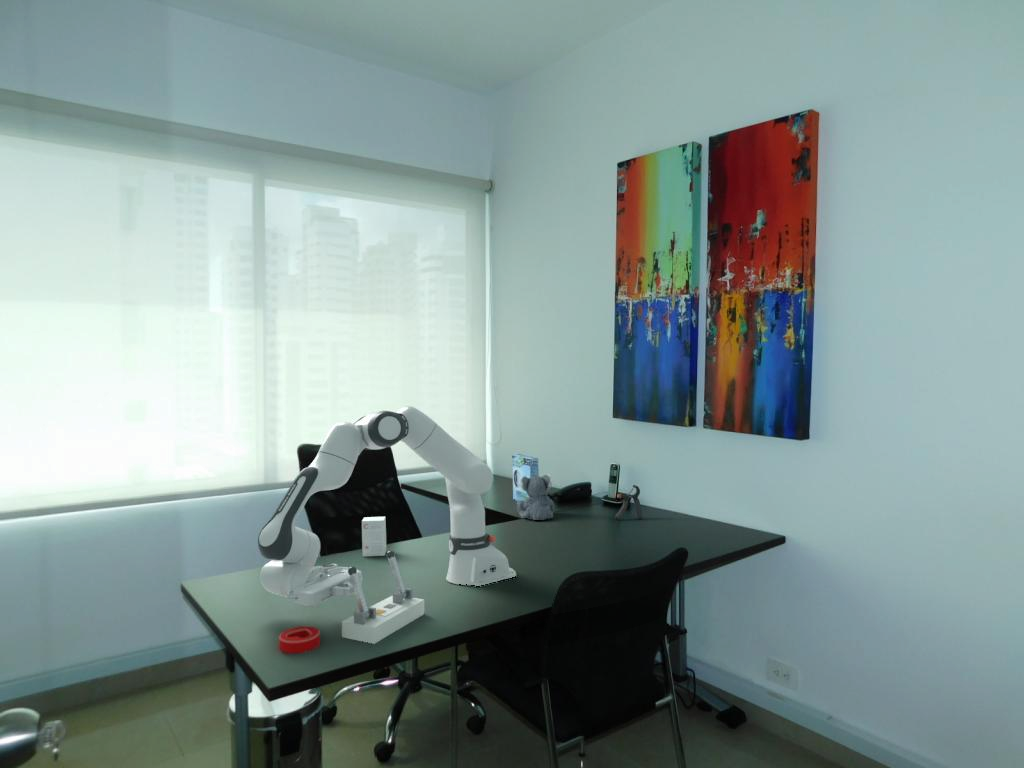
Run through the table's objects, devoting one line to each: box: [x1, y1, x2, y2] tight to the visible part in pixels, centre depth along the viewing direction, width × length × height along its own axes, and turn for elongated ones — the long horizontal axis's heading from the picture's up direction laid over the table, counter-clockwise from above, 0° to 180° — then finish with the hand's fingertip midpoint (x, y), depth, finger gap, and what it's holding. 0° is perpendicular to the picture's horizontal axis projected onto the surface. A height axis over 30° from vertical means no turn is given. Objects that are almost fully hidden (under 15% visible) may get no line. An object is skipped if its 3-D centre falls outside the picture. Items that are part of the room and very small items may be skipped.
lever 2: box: [386, 550, 409, 599], centre depth 184 cm, size 3×2×13 cm
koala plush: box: [516, 473, 556, 521], centre depth 300 cm, size 17×18×20 cm
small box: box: [361, 516, 387, 557], centre depth 244 cm, size 8×6×13 cm
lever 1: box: [348, 566, 372, 619], centre depth 170 cm, size 3×2×13 cm
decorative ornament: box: [278, 626, 321, 654], centre depth 164 cm, size 10×10×3 cm
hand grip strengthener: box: [614, 484, 643, 520], centre depth 294 cm, size 2×12×15 cm, turn 101°
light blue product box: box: [511, 453, 540, 502], centre depth 334 cm, size 19×5×23 cm, turn 27°
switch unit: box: [341, 587, 425, 645], centre depth 177 cm, size 22×10×6 cm, turn 153°
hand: (353, 591), depth 171 cm, fingers closed
